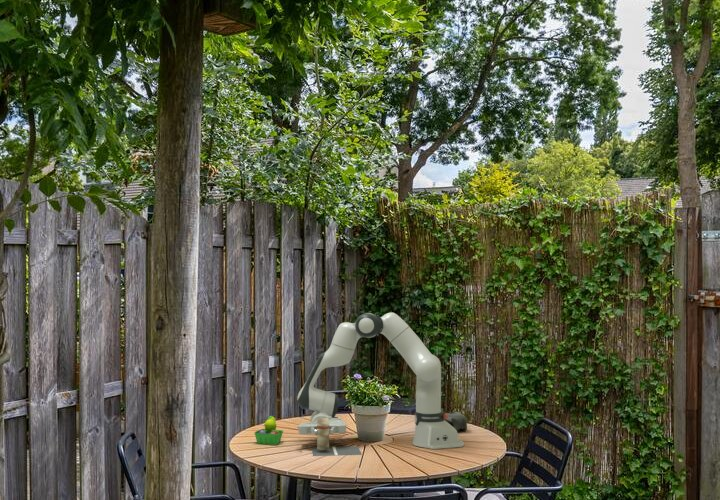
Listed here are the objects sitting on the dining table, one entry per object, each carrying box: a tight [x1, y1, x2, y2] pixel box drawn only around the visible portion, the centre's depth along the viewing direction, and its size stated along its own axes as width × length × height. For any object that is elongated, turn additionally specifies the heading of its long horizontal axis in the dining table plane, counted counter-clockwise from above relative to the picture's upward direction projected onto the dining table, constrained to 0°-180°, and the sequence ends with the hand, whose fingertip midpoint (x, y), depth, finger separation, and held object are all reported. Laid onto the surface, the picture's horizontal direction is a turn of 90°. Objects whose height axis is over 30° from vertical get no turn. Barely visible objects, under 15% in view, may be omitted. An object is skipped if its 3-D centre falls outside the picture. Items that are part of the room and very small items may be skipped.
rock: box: [443, 411, 468, 432], centre depth 317 cm, size 18×11×8 cm, turn 11°
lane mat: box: [311, 445, 363, 457], centre depth 268 cm, size 20×14×1 cm
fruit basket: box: [254, 415, 284, 446], centre depth 287 cm, size 11×9×11 cm
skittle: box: [316, 418, 330, 450], centre depth 268 cm, size 5×5×12 cm
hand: (323, 432), depth 267 cm, fingers open, 5 cm apart
